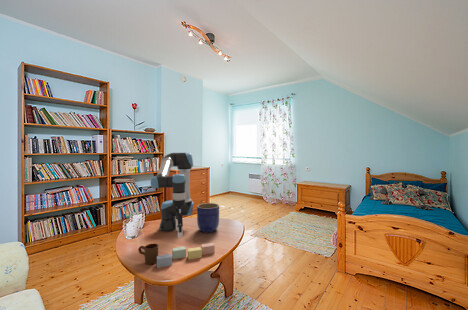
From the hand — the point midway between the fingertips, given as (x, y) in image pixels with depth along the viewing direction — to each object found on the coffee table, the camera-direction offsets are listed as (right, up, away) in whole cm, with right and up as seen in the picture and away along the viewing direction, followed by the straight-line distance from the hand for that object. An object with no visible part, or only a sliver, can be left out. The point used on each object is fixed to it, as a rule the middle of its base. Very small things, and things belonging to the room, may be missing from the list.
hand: (179, 233), depth 131 cm
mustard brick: (+10, -15, 0) cm, 18 cm away
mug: (-17, -15, -6) cm, 23 cm away
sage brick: (0, -15, 0) cm, 15 cm away
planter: (+13, -14, +44) cm, 48 cm away
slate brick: (-6, -15, -9) cm, 19 cm away
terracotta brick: (+17, -15, +6) cm, 23 cm away
